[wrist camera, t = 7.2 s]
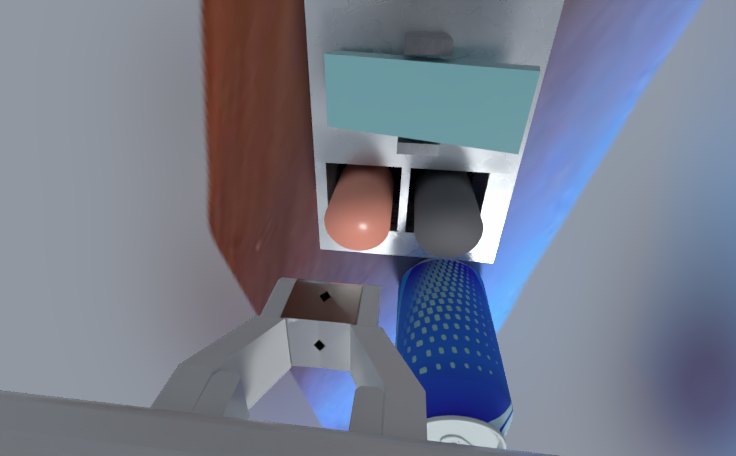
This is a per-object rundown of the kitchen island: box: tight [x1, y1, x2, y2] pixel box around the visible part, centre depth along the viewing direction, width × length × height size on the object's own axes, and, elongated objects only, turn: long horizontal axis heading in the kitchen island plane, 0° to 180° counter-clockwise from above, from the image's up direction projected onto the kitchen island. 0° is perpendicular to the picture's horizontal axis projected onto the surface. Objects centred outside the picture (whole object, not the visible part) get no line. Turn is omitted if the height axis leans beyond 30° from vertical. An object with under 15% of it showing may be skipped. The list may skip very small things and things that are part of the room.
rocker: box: [324, 50, 540, 154], centre depth 20 cm, size 4×11×2 cm, turn 89°
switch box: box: [304, 0, 564, 263], centre depth 24 cm, size 22×14×8 cm, turn 179°
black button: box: [414, 169, 484, 258], centre depth 26 cm, size 4×4×6 cm
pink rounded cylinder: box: [324, 164, 394, 251], centre depth 26 cm, size 4×4×6 cm
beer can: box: [395, 258, 513, 449], centre depth 30 cm, size 8×8×16 cm
